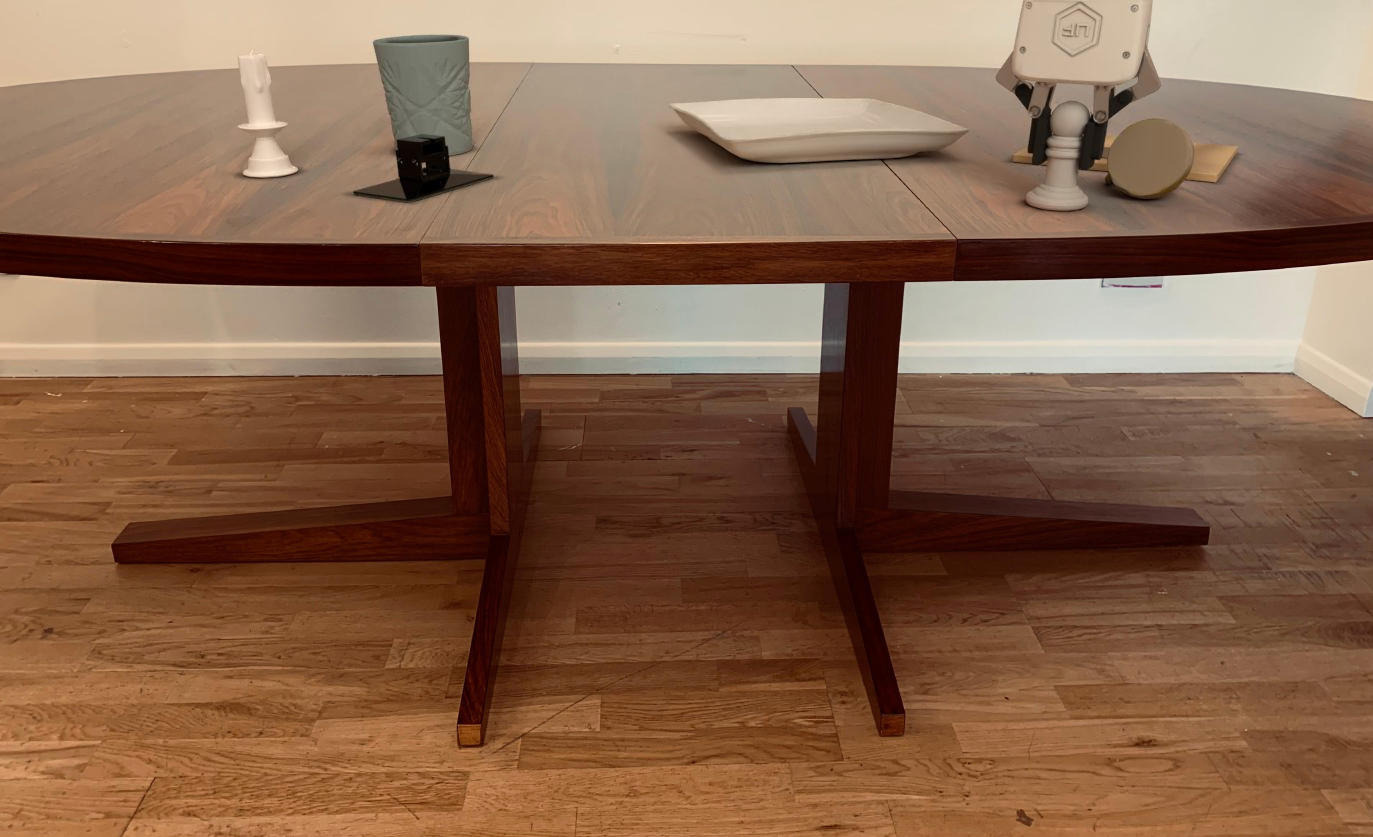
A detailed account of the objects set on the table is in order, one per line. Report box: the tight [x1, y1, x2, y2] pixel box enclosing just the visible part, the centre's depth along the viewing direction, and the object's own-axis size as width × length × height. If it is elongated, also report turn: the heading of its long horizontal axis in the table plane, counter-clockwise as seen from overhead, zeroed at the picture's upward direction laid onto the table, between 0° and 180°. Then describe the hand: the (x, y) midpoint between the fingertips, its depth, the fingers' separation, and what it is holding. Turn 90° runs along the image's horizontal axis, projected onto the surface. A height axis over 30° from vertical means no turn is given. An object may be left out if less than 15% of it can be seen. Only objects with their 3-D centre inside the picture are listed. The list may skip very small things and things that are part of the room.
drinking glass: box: [372, 34, 474, 157], centre depth 113 cm, size 10×10×12 cm
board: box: [1011, 133, 1239, 183], centre depth 111 cm, size 20×18×1 cm
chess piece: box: [1025, 100, 1091, 212], centre depth 89 cm, size 5×5×9 cm
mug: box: [1104, 118, 1194, 200], centre depth 94 cm, size 8×10×10 cm
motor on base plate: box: [352, 134, 495, 203], centre depth 97 cm, size 12×7×5 cm, turn 152°
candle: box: [237, 48, 299, 179], centre depth 101 cm, size 5×5×12 cm
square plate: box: [668, 97, 970, 164], centre depth 117 cm, size 27×27×4 cm
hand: (1063, 163), depth 89 cm, fingers closed on chess piece, 3 cm apart
